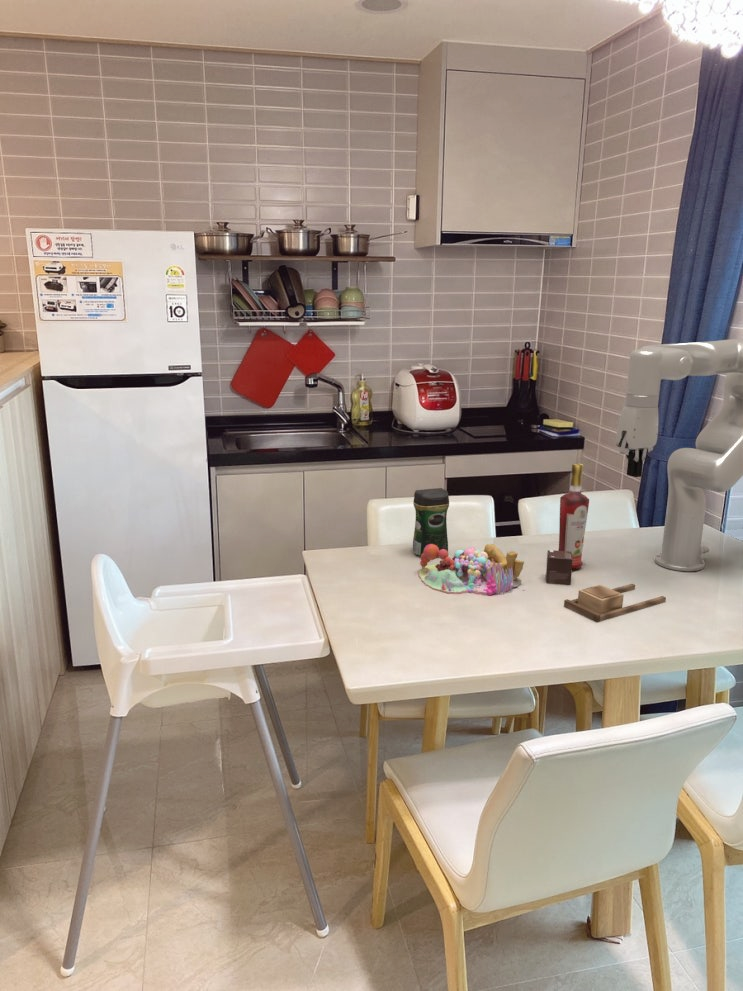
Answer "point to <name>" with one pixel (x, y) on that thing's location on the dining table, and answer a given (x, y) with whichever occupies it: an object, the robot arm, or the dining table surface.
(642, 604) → the bay
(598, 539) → the dining table surface
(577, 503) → the liquor
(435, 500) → the coffee jar
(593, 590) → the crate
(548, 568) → the box
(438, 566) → the pastel sphere sculpture
